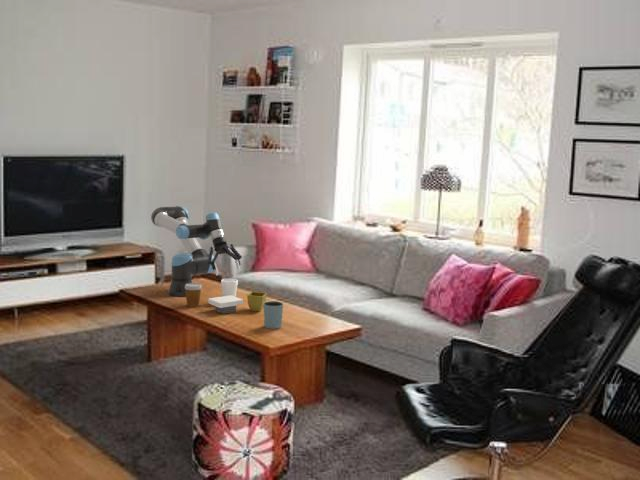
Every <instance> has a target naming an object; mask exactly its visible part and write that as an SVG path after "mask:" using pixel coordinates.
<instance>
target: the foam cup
mask: <svg viewBox="0 0 640 480" xmlns="http://www.w3.org/2000/svg"><path fill="white" fill-rule="evenodd" d="M220 285H221V294H222V297H223V296H230V295H232V296H235V297H237V290H238V286H239V280H238V279H237V278H222V279H221V281H220Z"/></svg>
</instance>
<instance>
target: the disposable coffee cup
mask: <svg viewBox="0 0 640 480" xmlns="http://www.w3.org/2000/svg"><path fill="white" fill-rule="evenodd" d="M184 288H185V291H186V296H185V297H186V298H185V299H186V307H188V308H198V307H200V301H201V300H200V299H201V293H202V288H203V286H202V284H201V283H198V282H196V283H195V282H192V283H188V284H186V285H185V287H184Z"/></svg>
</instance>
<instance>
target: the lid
mask: <svg viewBox="0 0 640 480" xmlns="http://www.w3.org/2000/svg"><path fill="white" fill-rule="evenodd" d="M207 304H210V305H212V306H213V307H214V306H216V307H219V308H223V307H230V306H236V307H237V306H242V305H245V300H244V299H243V298H240V297H237V296H236V297H235V296H232V295H230V296H223V295H222V296H217V297H211V298H210V297H209V298H207Z"/></svg>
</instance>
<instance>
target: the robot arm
mask: <svg viewBox="0 0 640 480" xmlns="http://www.w3.org/2000/svg"><path fill="white" fill-rule="evenodd" d="M189 214H190V213H189V211H188V209H187V208H186V207H184V206H179V205H177V206H176V205H175V206H160V207H157V208H155V209H154V210H153V211H152V213H151V214H150V220H151V222H152V224H153V225H154V226H156V227H158V228H164V229H166V230H168V231H170V232H172V233H174V234H176V237H177V238H178V239H179V240H180V241H181V243H182V245H183V247H184V249H185V250H186V253H185V252H182V253H178V254H174V255H173V256H172V258H171V263H170V264H171V281H170V284H169V287H168V291H167V292H168V295H169V296H172V297H186V291H185V288H184V287H185V285H186V284H188V283H193V278H192V277H193V276H197V275H205V274H212V273H213V272H215V276H218V275H219V269H218V265H217V263H216V260H217V258H218V257H219V255H225V254H226V255H228V256H230V258H232V259H233V260H235V261H234V263H235V267H236V269H237V272H238V273H240V271H242V269H241V267H240V266H241V261H240V260H241V259H242V257H243V256H242V255H241V254H240V253H239V252H238V250H237V249H236V248H235V247H234V245H233V244H232V243H230V245H228V244H227V239H226V237H225V233H224V230H223V227H222V223H221V219H220V216H219V213H217V212H210V213H207V214H206V215H205V220H206V221H205V222H204V223H203V224H189V222H190V215H189ZM210 237H211V241H212V244H213V247H212V246H210V248H209V250H208V251H209V253H208V251H207V250H206V249H205V248H202V246H201V244H200V242H199V241H198V239H200V240H202V241H203V240H207V239H209V238H210ZM214 252H216V253H215V254H213V253H214Z"/></svg>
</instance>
